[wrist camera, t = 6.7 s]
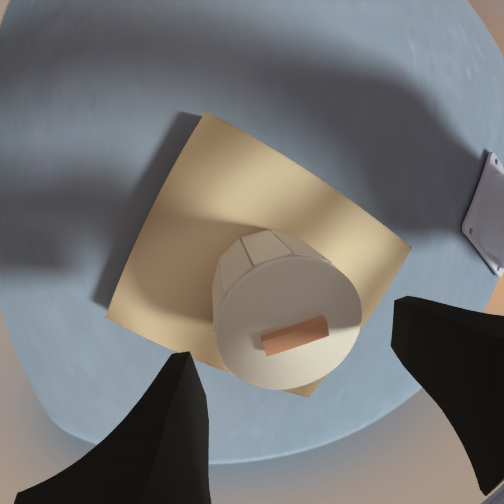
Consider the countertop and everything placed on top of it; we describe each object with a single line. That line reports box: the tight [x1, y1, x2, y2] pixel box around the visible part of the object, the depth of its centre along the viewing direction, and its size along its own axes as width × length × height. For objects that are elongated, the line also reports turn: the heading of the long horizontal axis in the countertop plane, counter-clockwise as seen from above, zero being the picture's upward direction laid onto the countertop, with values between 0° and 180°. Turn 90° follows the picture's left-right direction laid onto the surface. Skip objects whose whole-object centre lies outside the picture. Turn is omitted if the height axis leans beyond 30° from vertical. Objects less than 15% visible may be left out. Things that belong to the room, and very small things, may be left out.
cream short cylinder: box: [212, 229, 362, 390], centre depth 12 cm, size 6×6×5 cm
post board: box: [106, 112, 412, 397], centre depth 14 cm, size 14×12×5 cm
